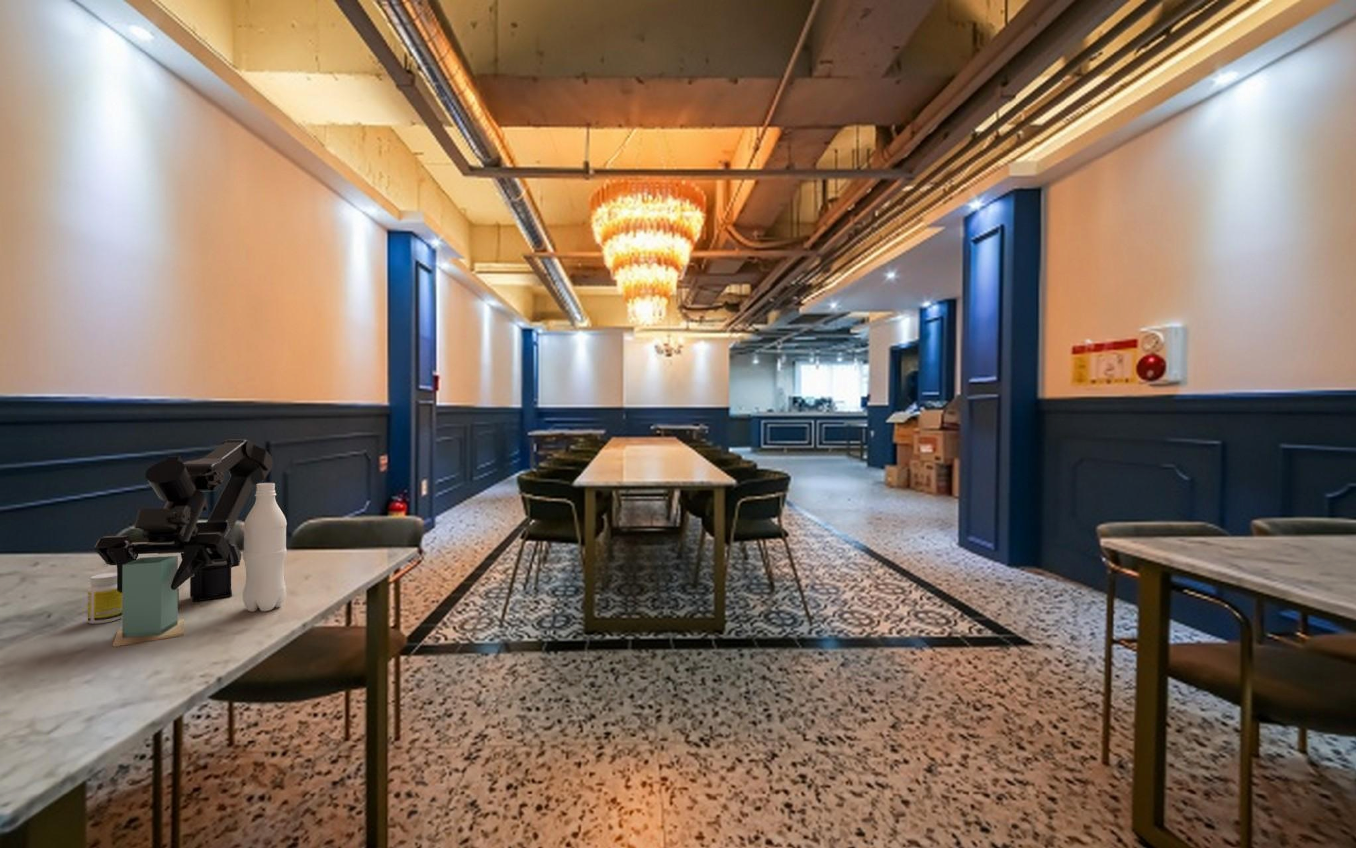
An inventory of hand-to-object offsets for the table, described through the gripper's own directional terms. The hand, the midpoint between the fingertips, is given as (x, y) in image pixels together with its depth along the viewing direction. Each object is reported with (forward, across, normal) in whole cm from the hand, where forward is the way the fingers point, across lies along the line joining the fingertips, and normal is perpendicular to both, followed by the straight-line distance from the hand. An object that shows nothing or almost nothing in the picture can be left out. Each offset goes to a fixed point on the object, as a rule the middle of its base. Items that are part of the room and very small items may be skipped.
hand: (146, 590), depth 104 cm
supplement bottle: (-2, -12, +14) cm, 19 cm away
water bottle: (-3, +14, +15) cm, 20 cm away
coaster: (+5, 0, +7) cm, 8 cm away
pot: (+4, 0, +6) cm, 8 cm away
